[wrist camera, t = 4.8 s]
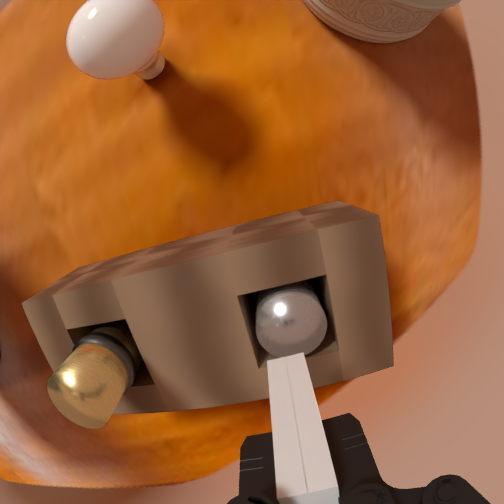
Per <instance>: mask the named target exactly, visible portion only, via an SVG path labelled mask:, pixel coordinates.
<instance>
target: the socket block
mask: <svg viewBox="0 0 504 504" xmlns="http://www.w3.org/2000/svg"><path fill="white" fill-rule="evenodd" d="M310 278H312V281H313V282H314V284H315V286H316V288H317V291H318V293H319V298H320V304H321V307H322V309H323V311H324V313H325V316H326V319H327V330H326V334H325V337H324V339H323V340H322V342H321V343H320V345H319V346H318V347H317V348H316V349H315V350H313V351H312V352H310V353H308V354H306V355H304V356H305V360H306V364H307V367H308V371H309V375H310V379H311V382H312V386H313V389H314V388H318V387H322V386H326V385H330V384H334V383H338V382H342V381H345V380H349V379H353V378H356V377H359V376H363V375H366V374H370V373H373V372H376V371H379V370H382V369H385V368H389V367H392V366H393V338H392V321H391V308H390V296H389V286H388V277H387V268H386V260H385V252H384V245H383V238H382V232H381V225H380V219H379V215H377V214H374V213H372V212H369V211H366V210H364V209H361V208H358V207H355V206H353V205H350V204H347V203H344V202H341V201H334V202H330V203H326V204H321V205H317V206H313V207H308V208H304V209H300V210H296V211H292V212H287V213H283V214H279V215H275V216H271V217H267V218H263V219H259V220H255V221H251V222H247V223H243V224H239V225H235V226H231V227H227V228H223V229H219V230H215V231H211V232H207V233H203V234H199V235H196V236H192V237H188V238H184V239H180V240H177V241H173V242H169V243H166V244H162V245H158V246H154V247H151V248H147V249H143V250H140V251H136V252H133V253H129V254H125V255H122V256H118V257H115V258H111V259H108V260H104V261H101V262H97V263H94V264H90V265H87V266H83V267H80V268H78V269H76V270H74V271H73V272H71V273H69V274H68V275H66V276H64V277H63V278H61V279H59V280H58V281H56V282H54V283H53V284H51V285H49V286H48V287H46V288H45V289H43V290H41V291H40V292H38V293H37V294H35V295H34V296H32V297H30V298H29V299H27V300H26V301H24V302H23V303H21V304H22V306H23V309H24V311H25V314H26V316H27V318H28V321H29V323H30V325H31V327H32V330H33V332H34V334H35V336H36V338H37V340H38V343H39V345H40V347H41V349H42V351H43V353H44V355H45V357H46V359H47V361H48V362H49V364H50V366H51V368H52V370H53V372H55V371H56V370H57V369H58V368H59V367H60V366H61V364H62V363H63V362H64V361H65V360H66V359H67V358H68V357H69V356H70V355H71V353H72V349H73V347H74V346H75V345H76V344H77V343H78V342H79V340H80V339H81V338H82V337H83V336H85V335H86V334H88V333H91V332H92V331H93V330H94V329H95V328H96V327H97V326H98V325H99V324H100V323H106V322H111V321H117V320H122V319H126V321H127V323H128V326H129V328H130V331H131V333H132V335H133V338H134V340H135V342H136V344H137V347H138V349H139V351H140V353H141V356H142V358H143V360H142V362H141V363H140V365H139V367H138V369H137V375H136V378H135V380H134V382H133V384H132V386H131V387H130V389H129V391H128V392H127V393H125V394H124V395H122V397H121V399H120V400H119V402H118V404H117V406H116V408H115V409H114V411H113V413H112V414H138V413H156V412H170V411H181V410H192V409H201V408H209V407H217V406H224V405H231V404H238V403H244V402H250V401H256V400H262V399H267V398H270V395H269V382H268V369H267V361H268V360H273V359H277V358H281V357H277V356H275V355H272V354H271V353H269V352H268V351H266V350H265V349H264V348H263V347H262V346H261V344H260V343H259V341H258V338H257V335H256V315H255V312H254V308H253V296H254V292H256V291H260V290H264V289H269V288H273V287H277V286H281V285H285V284H290V283H294V282H298V281H302V280H306V279H310Z"/></svg>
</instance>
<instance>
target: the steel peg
mask: <svg viewBox="0 0 504 504" xmlns="http://www.w3.org/2000/svg"><path fill="white" fill-rule="evenodd" d="M253 308H254V312H255V315H256V335H257V338H258V341H259V343H260V344H261V346H262V347H263V348H264V349H265V350H266V351H268V352H269V353H271V354H272V355H275V356H277V357H281V358H282V357H286V356H290V355H294V354H298V353H304V355H306V354H308V353H310V352H312V351H313V350H315V349H316V348H317V347H318V346H319V345H320V343H321V342H322V340H323V339H324V337H325V334H326V330H327V319H326V316H325V313H324V311H323V309H322V307H321V304H320V298H319V293H318V291H317V288H316V286H315V284H314V282H313V281H312V279H311V278H310V279H306V280H302V281H298V282H294V283H290V284H285V285H281V286H277V287H273V288H269V289H264V290H260V291H256V292H254V296H253Z"/></svg>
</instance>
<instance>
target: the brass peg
mask: <svg viewBox="0 0 504 504" xmlns="http://www.w3.org/2000/svg"><path fill="white" fill-rule="evenodd" d="M142 360H143V358H142V356H141V353H140V351H139V349H138V347H137V344H136V342H135V340H134V338H133V335H132V333H131V331H130V328H129V326H128V323H127V321H126V319H122V320H117V321H111V322H106V323H100V324H99V325H98V326H97V327H96V328H95V329H94V330H93V331H92V332H91V333H88V334H86V335H85V336H83V337H82V338H81V339H80V340H79V342H78V343H77V344H76V345H75V346H74V347H73V349H72V353H71V355H70V356H69V357H68V358H67V359H66V360H65V361H64V362H63V363H62V364H61V366H60V367H59V368H58V369H57V370H56V371H55V372H54V373H53V374H52V375H51V377H50V378H49V379H48V382H47V391H48V394H49V397H50V399H51V401H52V403H53V404H54V405H55V407H56V408H57V409H58V410H59V411H60V413H62V414H63V415H64V416H65V417H66V418H67V419H69V420H70V421H72V422H73V423H75V424H77V425H79V426H82V427H85V428H89V429H99V428H102V427H104V426H105V425H106V424H107V422H108V420H109V418H110V417H111V415H112V413H113V411H114V409H115V408H116V406H117V404H118V402H119V400H120V399H121V397H122V395H124V394H125V393H127V392H128V391H129V389H130V387H131V386H132V384H133V382H134V380H135V378H136V375H137V369H138V367H139V365H140V363H141V362H142Z"/></svg>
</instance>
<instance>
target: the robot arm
mask: <svg viewBox="0 0 504 504" xmlns="http://www.w3.org/2000/svg"><path fill="white" fill-rule="evenodd" d="M0 357H1V355H0ZM267 369H268V382H269V395H270V408H271V421H272V432H270V433H264V434H258V435H252V436H247V437H246V439H245V441H244V442H243V444H242V446H241V449H240V479H239V495H238V496H237V497H235V498H233V499H231V500H230V501H229V502H228V503H227V504H490V503H489V502H488V501H487V500H486V499H485V498H484V497H483V496H482V495H481V494H480V493H478V491H476V490H475V489H474V488H473V487H472V486H471V485H470V484H469V483H468V482H467V481H466V480H465V479H463V478H461V477H460V476H457V475H444V476H440V477H438V478H436V479H434V480H432V481H431V482H430V483H429V484H428V485H427V486H426V487H421V488H412V489H398V488H393V487H391V486H389V485H387V484H386V483H385V482H384V481H383V480H382V478H381V476H380V474H379V471H378V468H377V466H376V463H375V460H374V458H373V455H372V453H371V450H370V448H369V445H368V443H367V439H366V437H365V435H364V432H363V429H362V427H361V424H360V422H359V420H357V419H356V418H355V417H354V416H353V415H351V414H350V413H347V414H344V415H340V416H337V417H333V418H329V419H326V420H321V416H320V413H319V409H318V405H317V401H316V397H315V394H314V390H313V386H312V382H311V379H310V375H309V371H308V367H307V364H306V360H305V356H304V353H298V354H294V355H290V356H286V357H282V358H277V359H273V360H268V361H267Z"/></svg>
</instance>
